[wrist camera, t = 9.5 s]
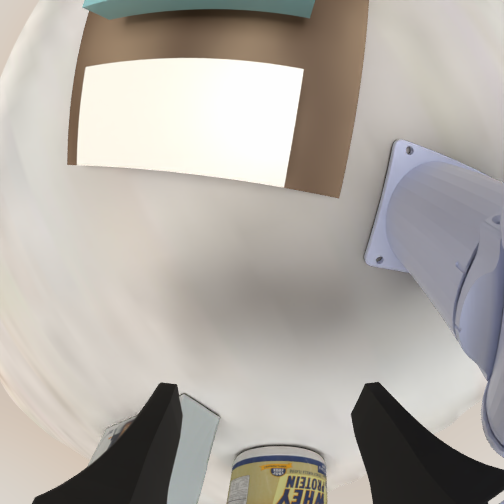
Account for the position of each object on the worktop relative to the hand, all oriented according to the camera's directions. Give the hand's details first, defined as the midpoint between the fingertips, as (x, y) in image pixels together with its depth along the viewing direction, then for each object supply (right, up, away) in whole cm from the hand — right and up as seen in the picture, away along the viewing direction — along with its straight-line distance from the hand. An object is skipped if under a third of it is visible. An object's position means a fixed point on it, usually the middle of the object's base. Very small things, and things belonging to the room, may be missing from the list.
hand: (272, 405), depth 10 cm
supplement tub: (+3, -22, +20) cm, 30 cm away
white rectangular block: (-4, +12, +3) cm, 13 cm away
